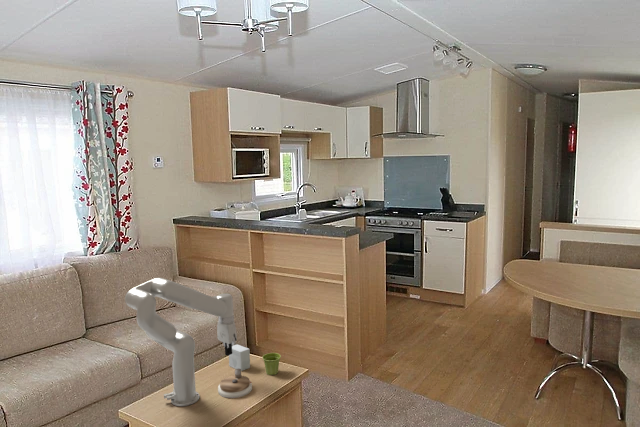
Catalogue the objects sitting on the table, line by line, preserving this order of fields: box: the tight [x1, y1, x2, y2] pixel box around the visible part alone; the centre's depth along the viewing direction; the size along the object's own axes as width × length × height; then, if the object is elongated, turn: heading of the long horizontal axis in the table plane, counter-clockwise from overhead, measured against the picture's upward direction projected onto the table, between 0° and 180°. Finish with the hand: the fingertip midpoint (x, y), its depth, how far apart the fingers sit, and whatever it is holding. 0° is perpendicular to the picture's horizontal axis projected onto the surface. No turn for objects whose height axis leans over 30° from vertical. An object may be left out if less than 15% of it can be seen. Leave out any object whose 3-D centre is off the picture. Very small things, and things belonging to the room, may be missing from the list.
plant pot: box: [261, 352, 282, 376], centre depth 239 cm, size 9×9×9 cm
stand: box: [217, 380, 253, 399], centre depth 223 cm, size 16×16×2 cm
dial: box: [219, 368, 251, 392], centre depth 222 cm, size 14×14×5 cm
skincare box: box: [228, 343, 251, 372], centre depth 247 cm, size 10×6×10 cm, turn 49°
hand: (228, 354), depth 232 cm, fingers closed
